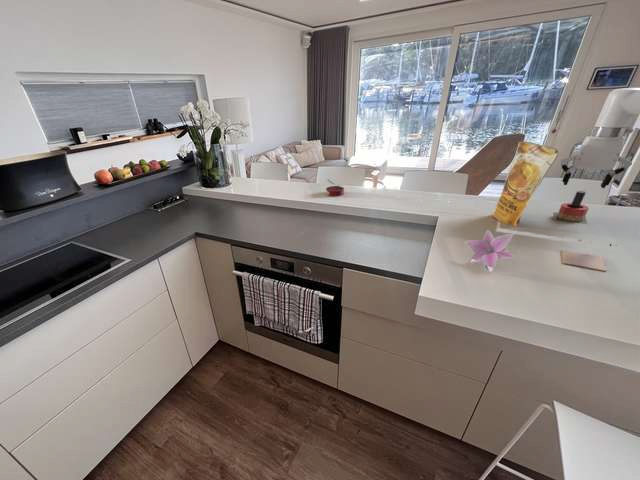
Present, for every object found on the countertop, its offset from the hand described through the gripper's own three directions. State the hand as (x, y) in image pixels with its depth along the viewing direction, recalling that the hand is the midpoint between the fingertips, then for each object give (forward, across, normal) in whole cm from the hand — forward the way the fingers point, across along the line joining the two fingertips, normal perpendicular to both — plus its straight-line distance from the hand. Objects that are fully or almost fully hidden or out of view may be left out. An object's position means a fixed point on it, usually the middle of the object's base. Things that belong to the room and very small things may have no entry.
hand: (583, 185), depth 101 cm
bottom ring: (+12, 0, 0) cm, 12 cm away
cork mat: (+13, -2, +34) cm, 37 cm away
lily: (+14, +21, +48) cm, 54 cm away
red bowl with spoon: (+14, +97, +2) cm, 98 cm away
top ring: (+10, 0, 0) cm, 10 cm away
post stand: (+13, 0, 0) cm, 13 cm away
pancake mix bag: (+14, +18, +9) cm, 24 cm away
